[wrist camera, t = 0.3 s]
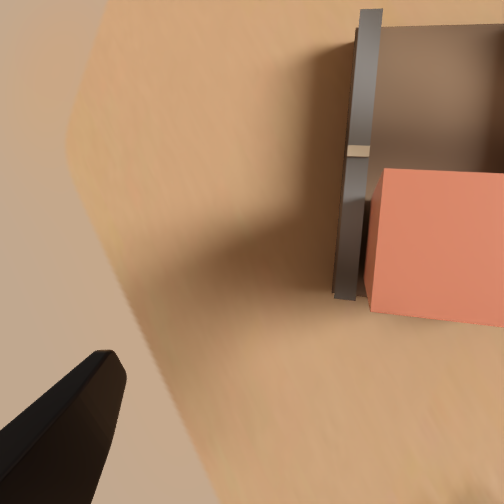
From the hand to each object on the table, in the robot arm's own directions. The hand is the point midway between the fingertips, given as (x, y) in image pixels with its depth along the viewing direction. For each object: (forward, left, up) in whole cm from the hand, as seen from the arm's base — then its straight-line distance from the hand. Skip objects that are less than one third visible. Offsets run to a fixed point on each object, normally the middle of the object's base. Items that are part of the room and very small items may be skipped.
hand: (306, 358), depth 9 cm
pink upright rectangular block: (-1, -5, -13) cm, 14 cm away
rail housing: (+2, -7, -15) cm, 17 cm away
